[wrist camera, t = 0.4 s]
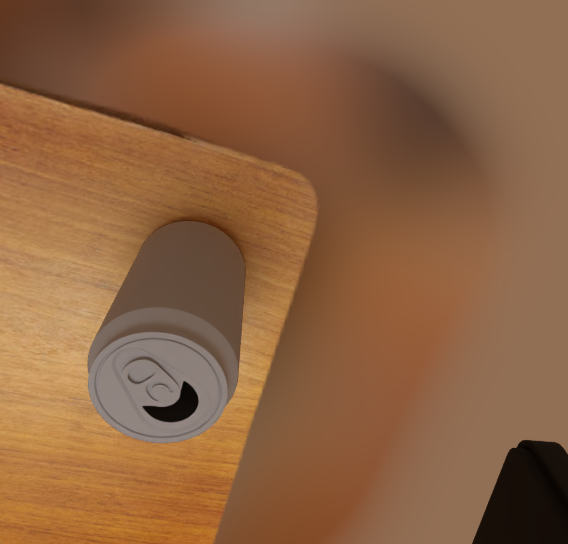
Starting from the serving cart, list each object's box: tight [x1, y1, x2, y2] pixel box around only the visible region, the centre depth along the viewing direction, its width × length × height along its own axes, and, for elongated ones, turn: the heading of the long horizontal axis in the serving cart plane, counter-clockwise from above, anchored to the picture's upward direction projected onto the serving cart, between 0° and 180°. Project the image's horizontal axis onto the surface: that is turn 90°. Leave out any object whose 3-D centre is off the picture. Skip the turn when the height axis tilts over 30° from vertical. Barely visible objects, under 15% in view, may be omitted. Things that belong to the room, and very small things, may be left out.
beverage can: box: [88, 221, 246, 443], centre depth 27 cm, size 6×6×12 cm
